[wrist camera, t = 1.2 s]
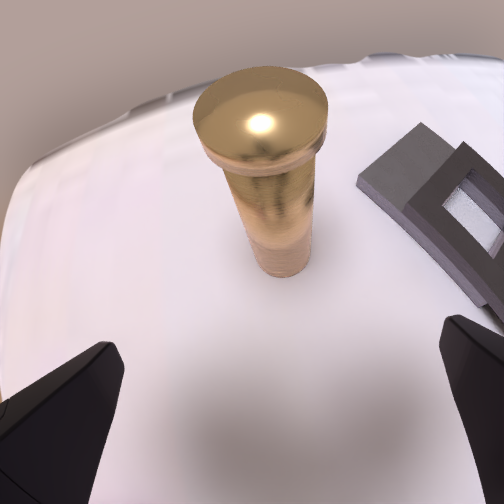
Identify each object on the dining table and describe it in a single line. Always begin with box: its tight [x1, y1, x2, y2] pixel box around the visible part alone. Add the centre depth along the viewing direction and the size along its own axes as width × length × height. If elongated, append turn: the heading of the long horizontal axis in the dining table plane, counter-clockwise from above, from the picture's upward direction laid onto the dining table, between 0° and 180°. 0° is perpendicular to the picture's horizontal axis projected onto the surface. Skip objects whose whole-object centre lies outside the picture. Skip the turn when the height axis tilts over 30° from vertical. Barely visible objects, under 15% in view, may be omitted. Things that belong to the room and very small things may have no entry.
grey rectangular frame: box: [356, 122, 504, 323], centre depth 20 cm, size 18×10×3 cm, turn 39°
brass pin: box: [193, 66, 328, 278], centre depth 17 cm, size 5×5×14 cm
